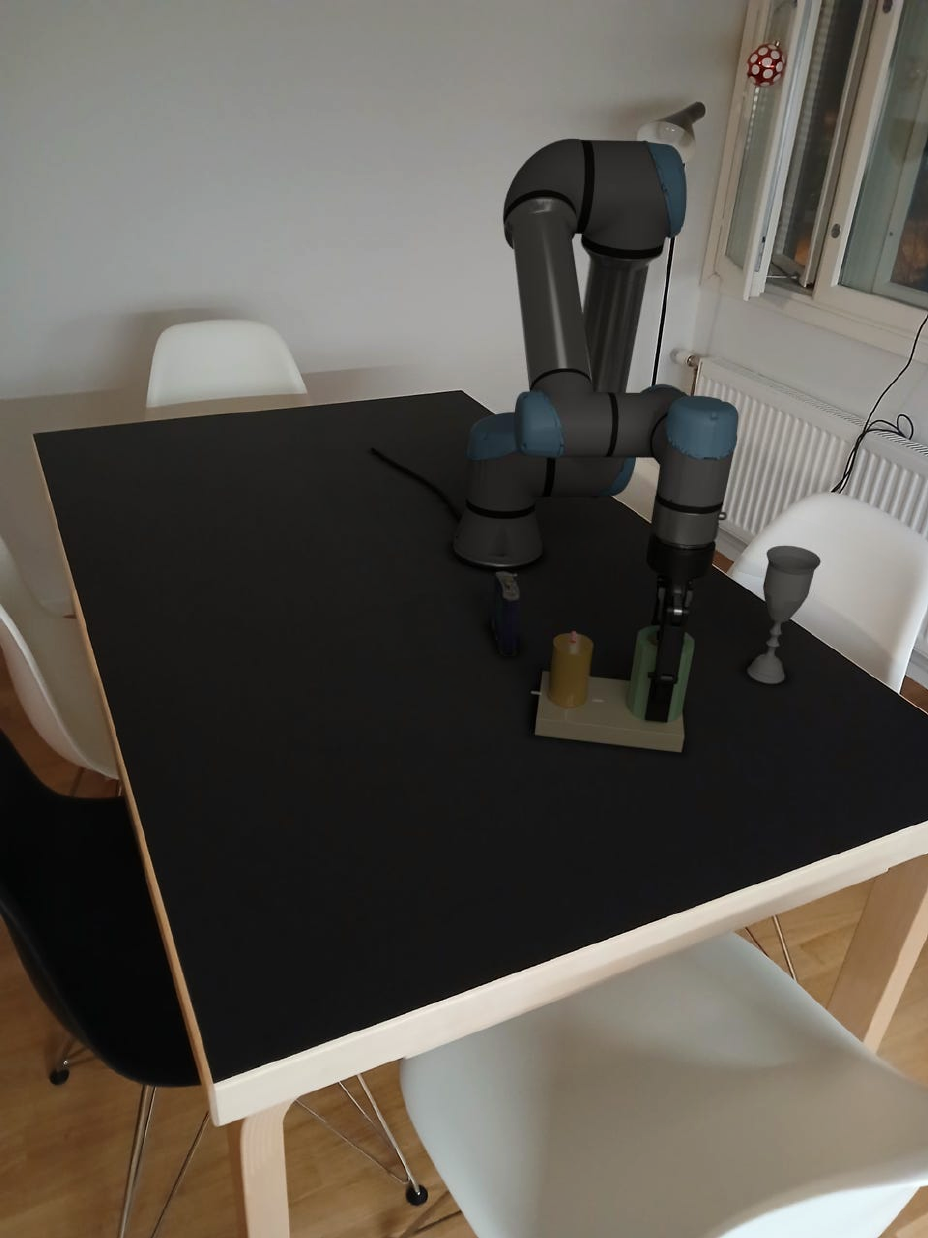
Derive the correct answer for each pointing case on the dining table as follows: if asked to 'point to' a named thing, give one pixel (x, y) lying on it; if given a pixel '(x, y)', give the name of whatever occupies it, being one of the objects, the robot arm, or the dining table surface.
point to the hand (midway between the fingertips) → (655, 702)
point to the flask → (506, 612)
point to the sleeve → (646, 663)
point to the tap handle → (570, 669)
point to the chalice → (783, 601)
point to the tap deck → (605, 719)
